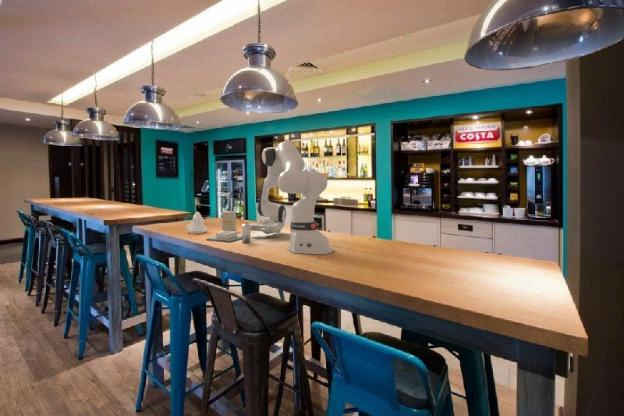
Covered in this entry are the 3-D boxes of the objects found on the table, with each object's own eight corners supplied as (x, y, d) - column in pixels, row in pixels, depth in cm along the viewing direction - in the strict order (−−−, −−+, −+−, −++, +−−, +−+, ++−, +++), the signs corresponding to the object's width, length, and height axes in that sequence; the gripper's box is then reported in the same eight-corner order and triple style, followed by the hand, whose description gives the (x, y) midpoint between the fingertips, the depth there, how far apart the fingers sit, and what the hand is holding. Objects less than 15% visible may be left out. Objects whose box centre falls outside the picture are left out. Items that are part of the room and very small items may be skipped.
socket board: (246, 237, 209) (246, 231, 208) (229, 242, 194) (229, 235, 193) (223, 235, 215) (223, 229, 214) (206, 240, 200) (206, 233, 200)
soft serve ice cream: (210, 232, 236) (214, 212, 233) (198, 238, 222) (202, 217, 219) (194, 227, 238) (197, 207, 235) (181, 232, 224) (184, 211, 221)
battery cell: (251, 242, 196) (251, 222, 195) (247, 243, 192) (247, 223, 191) (245, 241, 197) (245, 222, 196) (240, 242, 193) (240, 223, 192)
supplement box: (236, 230, 235) (236, 211, 234) (234, 232, 231) (234, 212, 229) (224, 230, 236) (224, 211, 235) (221, 231, 231) (221, 211, 230)
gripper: (253, 220, 219) (240, 222, 207) (282, 222, 212) (271, 224, 199) (253, 230, 220) (240, 233, 207) (282, 232, 212) (271, 236, 199)
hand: (256, 229), depth 203 cm, fingers open, 8 cm apart
